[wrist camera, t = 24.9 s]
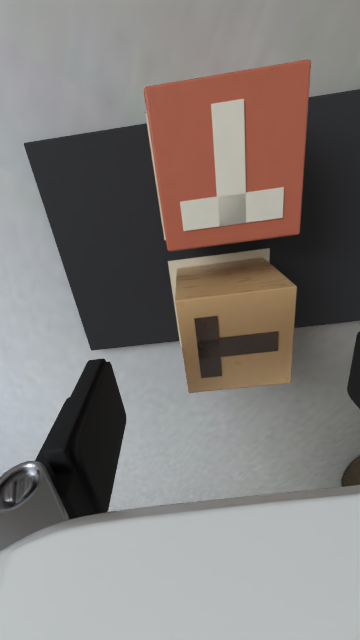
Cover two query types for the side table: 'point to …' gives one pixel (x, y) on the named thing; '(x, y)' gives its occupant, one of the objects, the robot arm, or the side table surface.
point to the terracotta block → (230, 154)
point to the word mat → (161, 265)
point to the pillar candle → (352, 474)
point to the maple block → (235, 324)
